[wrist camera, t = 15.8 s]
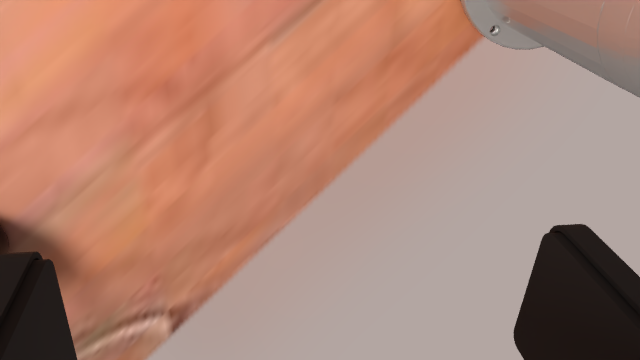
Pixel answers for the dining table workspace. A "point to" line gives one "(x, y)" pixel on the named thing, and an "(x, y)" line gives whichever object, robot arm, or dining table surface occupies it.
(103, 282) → the dining table surface
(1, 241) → the supplement bottle
